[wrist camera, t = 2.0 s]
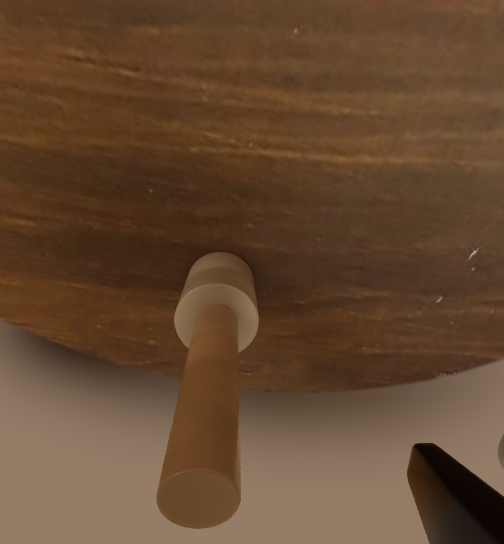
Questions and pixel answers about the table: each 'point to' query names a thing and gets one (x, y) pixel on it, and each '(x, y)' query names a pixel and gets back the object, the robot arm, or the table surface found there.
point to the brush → (209, 393)
